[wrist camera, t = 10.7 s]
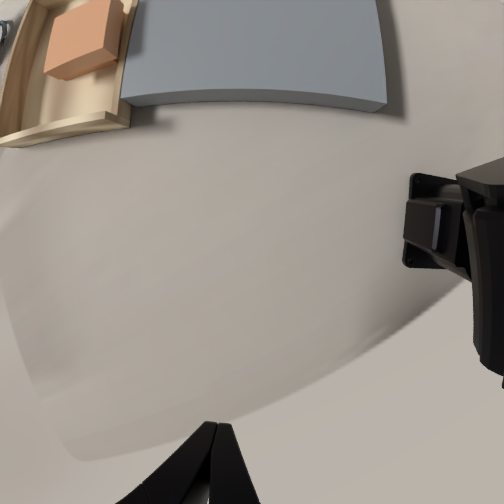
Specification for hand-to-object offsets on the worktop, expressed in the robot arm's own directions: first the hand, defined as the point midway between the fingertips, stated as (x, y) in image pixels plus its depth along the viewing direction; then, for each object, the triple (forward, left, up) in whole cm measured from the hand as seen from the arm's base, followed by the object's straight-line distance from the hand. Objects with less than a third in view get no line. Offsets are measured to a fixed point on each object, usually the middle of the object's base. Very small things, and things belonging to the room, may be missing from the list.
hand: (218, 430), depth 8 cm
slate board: (0, -19, -12) cm, 22 cm away
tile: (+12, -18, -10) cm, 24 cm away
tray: (+14, -19, -12) cm, 27 cm away
